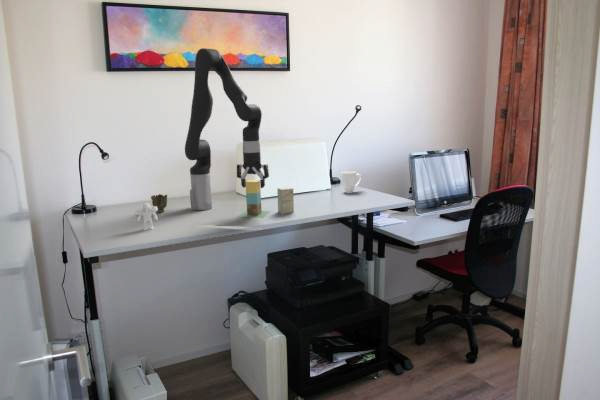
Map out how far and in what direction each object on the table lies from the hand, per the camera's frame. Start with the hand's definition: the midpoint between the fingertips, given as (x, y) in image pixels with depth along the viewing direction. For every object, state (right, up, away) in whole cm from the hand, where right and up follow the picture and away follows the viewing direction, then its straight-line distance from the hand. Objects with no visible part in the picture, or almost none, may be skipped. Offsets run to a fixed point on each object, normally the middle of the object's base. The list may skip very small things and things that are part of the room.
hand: (253, 187), depth 210 cm
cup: (-46, -11, +16) cm, 50 cm away
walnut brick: (0, -12, +3) cm, 12 cm away
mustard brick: (0, -2, 0) cm, 2 cm away
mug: (+49, -1, +51) cm, 71 cm away
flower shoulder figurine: (-42, -18, -13) cm, 48 cm away
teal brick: (0, -7, +1) cm, 7 cm away
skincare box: (+14, -12, +5) cm, 20 cm away
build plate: (0, -13, +3) cm, 13 cm away
